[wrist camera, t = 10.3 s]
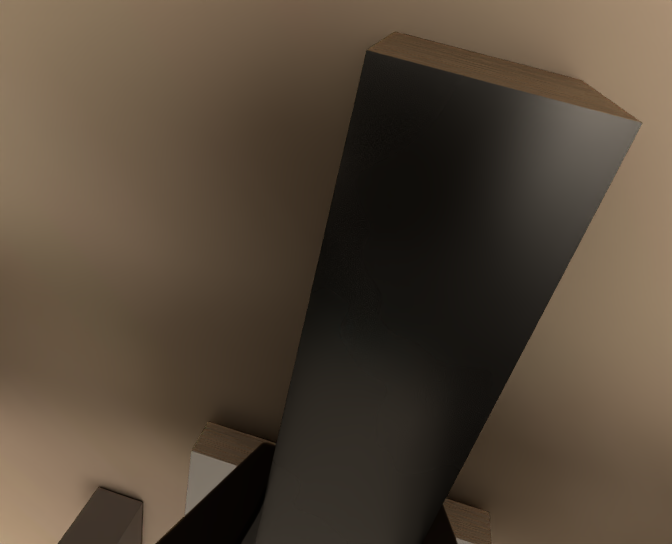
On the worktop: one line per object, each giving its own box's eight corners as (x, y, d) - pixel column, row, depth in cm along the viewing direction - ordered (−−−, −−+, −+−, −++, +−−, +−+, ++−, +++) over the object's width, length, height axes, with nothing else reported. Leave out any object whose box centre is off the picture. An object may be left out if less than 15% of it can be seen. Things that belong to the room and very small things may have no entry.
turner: (261, -4, 7) (172, -1, 5) (727, 118, 6) (865, 181, 4) (192, 554, 13) (142, 658, 11) (416, 631, 13) (408, 754, 11)
